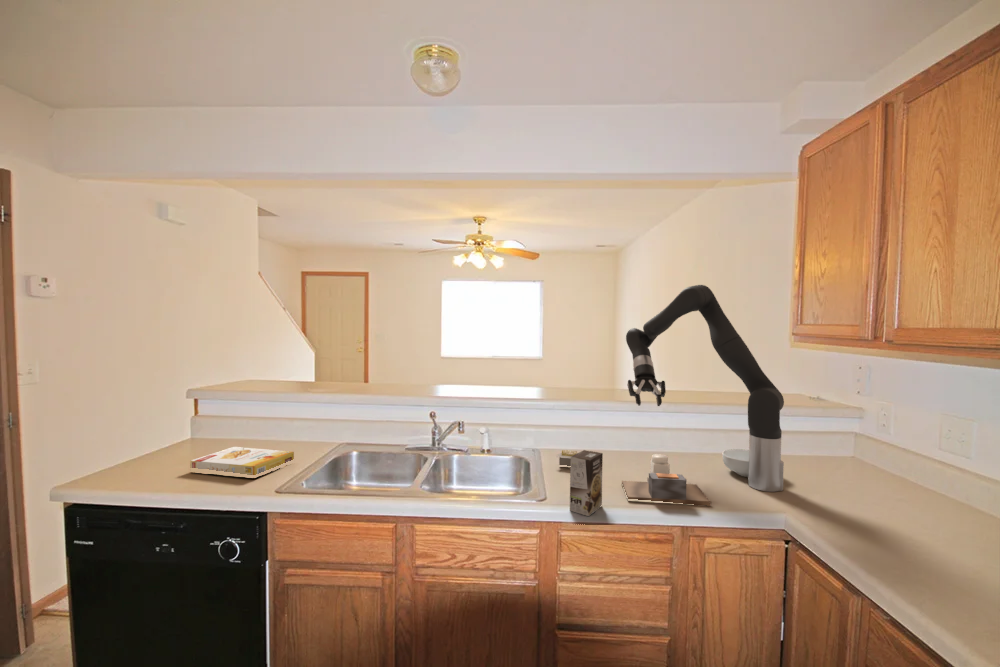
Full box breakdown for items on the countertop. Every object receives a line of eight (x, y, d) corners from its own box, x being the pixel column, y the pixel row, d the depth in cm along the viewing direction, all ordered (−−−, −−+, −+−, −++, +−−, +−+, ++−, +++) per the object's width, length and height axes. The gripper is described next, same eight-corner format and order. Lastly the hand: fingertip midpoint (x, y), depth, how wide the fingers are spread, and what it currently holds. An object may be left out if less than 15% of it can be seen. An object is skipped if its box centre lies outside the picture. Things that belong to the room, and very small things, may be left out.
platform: (550, 461, 179) (550, 445, 179) (596, 466, 173) (596, 449, 173) (543, 471, 167) (543, 453, 167) (592, 476, 162) (592, 458, 162)
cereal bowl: (761, 467, 172) (762, 449, 171) (784, 483, 155) (785, 462, 155) (714, 465, 173) (715, 447, 173) (732, 481, 157) (733, 461, 156)
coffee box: (589, 516, 128) (589, 460, 127) (568, 511, 131) (569, 455, 131) (602, 506, 135) (603, 452, 134) (583, 501, 139) (583, 448, 138)
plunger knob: (665, 480, 152) (666, 454, 151) (669, 486, 147) (669, 458, 146) (650, 480, 152) (650, 453, 152) (653, 485, 147) (653, 458, 147)
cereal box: (254, 465, 155) (188, 458, 161) (254, 481, 155) (188, 474, 162) (295, 450, 174) (234, 444, 181) (294, 464, 174) (234, 458, 181)
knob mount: (696, 488, 149) (696, 465, 149) (710, 506, 135) (710, 480, 135) (621, 485, 152) (622, 461, 152) (628, 501, 138) (628, 476, 138)
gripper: (626, 362, 177) (630, 398, 165) (664, 363, 175) (671, 399, 163) (623, 374, 182) (628, 409, 171) (660, 375, 180) (667, 411, 169)
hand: (649, 404), depth 167 cm, fingers open, 6 cm apart
